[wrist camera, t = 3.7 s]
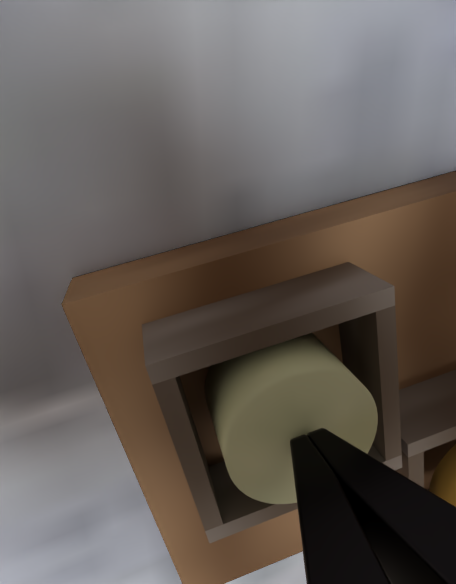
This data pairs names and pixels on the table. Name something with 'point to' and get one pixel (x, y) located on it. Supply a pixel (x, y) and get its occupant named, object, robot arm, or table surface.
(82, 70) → the table surface
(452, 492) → the mustard button
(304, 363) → the sage button
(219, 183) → the table surface
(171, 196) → the table surface
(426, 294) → the brown button box
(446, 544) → the robot arm
